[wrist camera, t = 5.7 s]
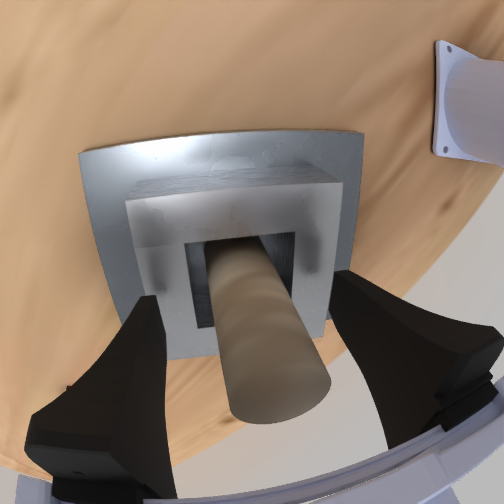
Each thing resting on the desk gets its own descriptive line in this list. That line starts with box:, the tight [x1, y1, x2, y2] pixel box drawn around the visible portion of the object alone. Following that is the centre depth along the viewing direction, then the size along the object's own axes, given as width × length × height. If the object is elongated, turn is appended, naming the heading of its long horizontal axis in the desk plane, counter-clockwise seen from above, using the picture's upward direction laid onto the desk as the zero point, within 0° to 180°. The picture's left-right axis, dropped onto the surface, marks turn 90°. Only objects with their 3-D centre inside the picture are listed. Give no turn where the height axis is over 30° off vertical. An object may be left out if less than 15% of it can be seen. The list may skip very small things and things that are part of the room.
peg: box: [204, 235, 331, 424], centre depth 12 cm, size 3×3×9 cm
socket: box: [78, 129, 364, 360], centre depth 15 cm, size 14×12×4 cm
